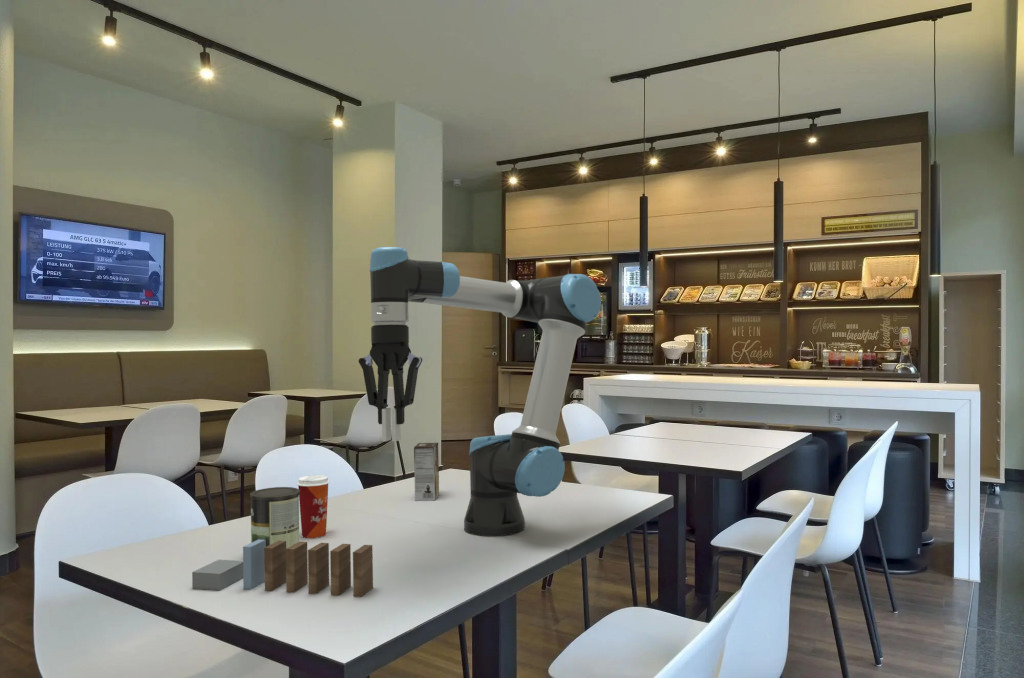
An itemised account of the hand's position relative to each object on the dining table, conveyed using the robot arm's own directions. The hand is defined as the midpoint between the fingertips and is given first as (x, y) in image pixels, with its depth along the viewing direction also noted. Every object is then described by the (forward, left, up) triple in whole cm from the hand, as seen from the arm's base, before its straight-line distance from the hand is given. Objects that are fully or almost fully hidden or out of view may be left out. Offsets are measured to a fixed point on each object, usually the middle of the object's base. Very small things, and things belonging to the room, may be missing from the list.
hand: (391, 440), depth 141 cm
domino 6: (+1, +12, -26) cm, 29 cm away
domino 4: (+10, +12, -26) cm, 31 cm away
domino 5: (+5, +12, -26) cm, 30 cm away
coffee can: (+30, -6, -27) cm, 41 cm away
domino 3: (+14, +12, -26) cm, 32 cm away
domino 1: (+23, +12, -26) cm, 37 cm away
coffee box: (+17, -68, -27) cm, 75 cm away
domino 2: (+19, +12, -26) cm, 35 cm away
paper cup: (+30, -23, -27) cm, 46 cm away
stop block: (+31, +12, -26) cm, 43 cm away
